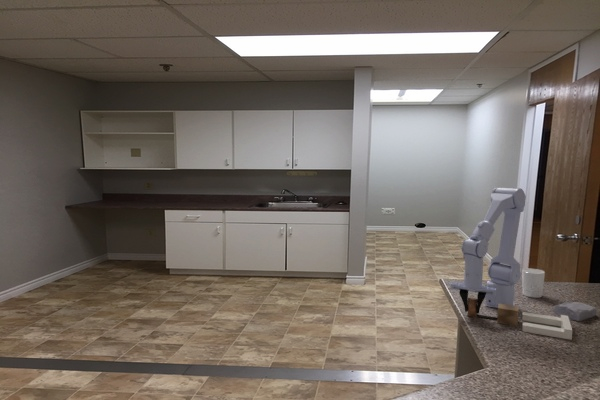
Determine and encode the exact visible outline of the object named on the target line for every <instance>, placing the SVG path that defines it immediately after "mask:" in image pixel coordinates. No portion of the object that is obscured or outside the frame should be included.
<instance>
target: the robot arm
mask: <svg viewBox="0 0 600 400" xmlns="http://www.w3.org/2000/svg"><path fill="white" fill-rule="evenodd" d="M526 199H527V195H526V194H525V191H524V190H523V189H522V188H520V187H518V188H511V187H498V186H496V187H494V188H493V190H492V191H491V194H490V205H489V207H488V210H487V212H486V214H485V215H484V219H483V220H482V221H479V222H478V223H477V224H476V226H475V228H474V230H473V231H472V233H471V235H470V237H469V238H467V239H465V240H464V241H463V243H462V245H461V252H462V255H463V259H464V276H463V277H464V279H463V280H464V281H463V282H464V283H462V282H450V286H449V288H450V290H458V291H459V292H458V293H459V297H460V299H461V300H462V303H463V307H464V312H465V313H468V298H469V292H473V293H477V298H476V299H477V314H479V315H480V309H481V306H482V304H483V302H484V300H485V306H486V307H490V308H496V309H498V304H506V305H513V306H516V305H515V304H516V303H515V302H514V301H515V300H514V299H515V285H517V284H518V283H519V282H520V279H521V278H522V271H521V264H520V262H519V261H517V259H516V258H515V257H514V256H515V251H516V246H517V245H516V244H517V238H518V232H519V228H520V227H519V226H520V219H521V214H522V213H523V212H524V210H525V205H526ZM502 213H503V214H504V217H503V224H502V228H501V236H500V239H499V241H500V242H499V247H498V253H497V255H496V256H494V257H493V258H491V260H490V264H489V266H488V268H487V275H488V277H489V279H490V280H487V282H486V286H485V285H483V272H484V271H483V268H484V257H485V256H486V255H487V253H488V247H489V241H490V240H491V237H492V235H493V234H494V232H495V227H494V225H495V223H497V220H499V218H500V216H501V215H502Z"/></svg>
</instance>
